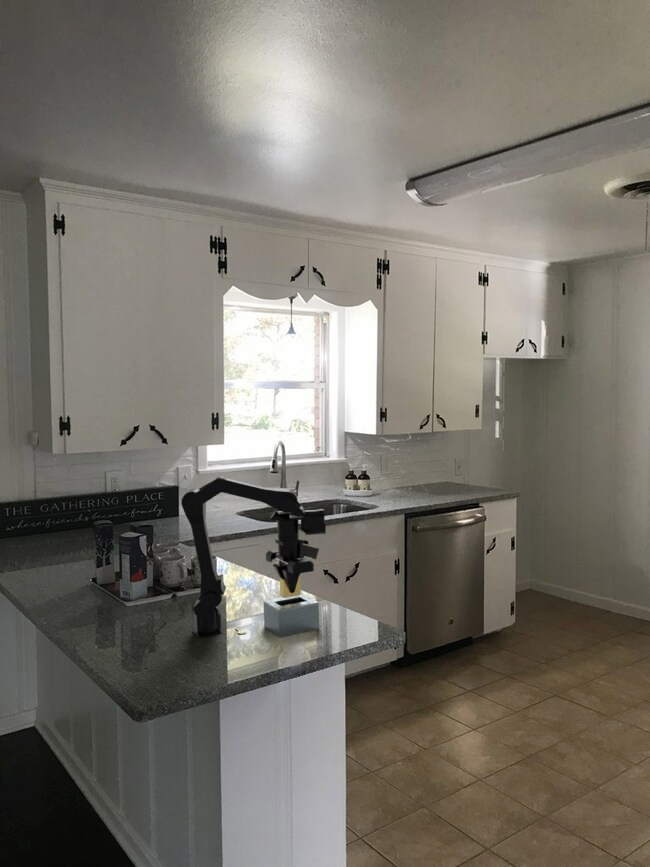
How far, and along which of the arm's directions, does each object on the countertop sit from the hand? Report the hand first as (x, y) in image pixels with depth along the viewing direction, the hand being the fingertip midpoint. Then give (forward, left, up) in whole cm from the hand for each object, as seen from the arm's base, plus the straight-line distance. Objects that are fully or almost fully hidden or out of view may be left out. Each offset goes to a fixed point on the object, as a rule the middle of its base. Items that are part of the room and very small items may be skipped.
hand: (290, 591), depth 202 cm
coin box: (0, 0, -10) cm, 10 cm away
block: (0, 0, -1) cm, 1 cm away
